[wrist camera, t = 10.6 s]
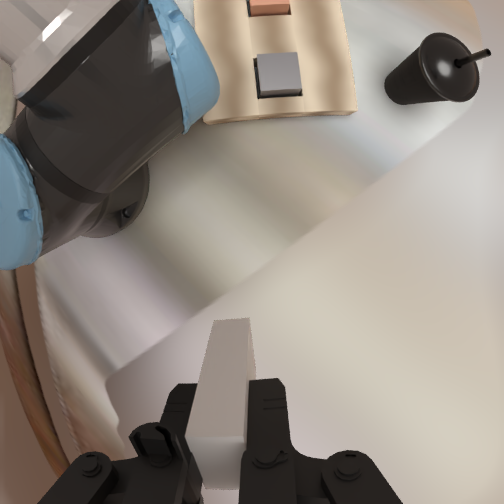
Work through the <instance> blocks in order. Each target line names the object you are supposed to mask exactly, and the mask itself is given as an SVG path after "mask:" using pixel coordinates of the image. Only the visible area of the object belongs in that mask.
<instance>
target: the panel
mask: <svg viewBox="0 0 504 504" xmlns="http://www.w3.org/2000/svg"><path fill="white" fill-rule="evenodd" d="M193 2H194V18H195V32H196V34H197V35H198V37H199V39H200V40H201V42H202V44H203V46H204V48H205V50H206V51H207V53H208V55H209V57H210V59H211V62H212V64H213V66H214V68H215V71H216V73H217V76H218V79H219V83H220V95H219V98H218V101H217V103H216V104H215V106H214V107H213V108H212V109H211V110H209V111H208V112H207V113H206V114H204V115H203V122H205V123H206V124H208V125H211V124H219V123H227V122H236V121H245V120H256V119H268V118H281V117H297V116H321V115H350V114H352V113H354V112H356V111H358V108H357V100H356V92H355V84H354V77H353V70H352V64H351V57H350V51H349V45H348V40H347V34H346V29H345V24H344V19H343V14H342V9H341V4H340V0H289V2H290V5H289V10H288V14H287V15H275V16H258V17H248V12H247V4H246V0H193ZM285 52H297V54H298V61H299V69H300V76H301V85H302V89H301V91H300V92H299V94H298V96H296V97H279V98H265V99H257V90H256V81H255V72H254V67H257V54H268V53H285Z"/></svg>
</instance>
